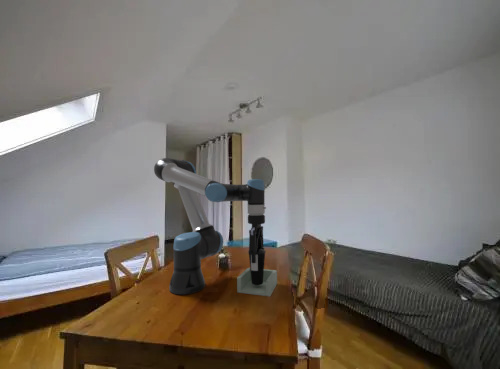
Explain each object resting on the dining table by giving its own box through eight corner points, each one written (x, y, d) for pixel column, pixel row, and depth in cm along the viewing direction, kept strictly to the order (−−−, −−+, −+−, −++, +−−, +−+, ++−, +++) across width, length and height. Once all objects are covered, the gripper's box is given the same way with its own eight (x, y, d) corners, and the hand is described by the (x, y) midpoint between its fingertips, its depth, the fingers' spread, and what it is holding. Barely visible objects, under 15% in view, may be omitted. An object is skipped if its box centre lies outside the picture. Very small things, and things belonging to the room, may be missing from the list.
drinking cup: (267, 280, 103) (266, 235, 104) (264, 286, 96) (264, 238, 97) (250, 279, 105) (249, 234, 106) (246, 285, 97) (246, 237, 98)
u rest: (237, 292, 97) (237, 277, 97) (248, 280, 110) (247, 267, 110) (270, 296, 92) (269, 281, 93) (277, 283, 106) (276, 270, 106)
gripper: (258, 216, 91) (259, 276, 90) (269, 212, 110) (270, 261, 109) (240, 216, 94) (240, 274, 92) (254, 212, 112) (255, 260, 111)
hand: (257, 267), depth 101 cm, fingers closed on drinking cup, 7 cm apart
